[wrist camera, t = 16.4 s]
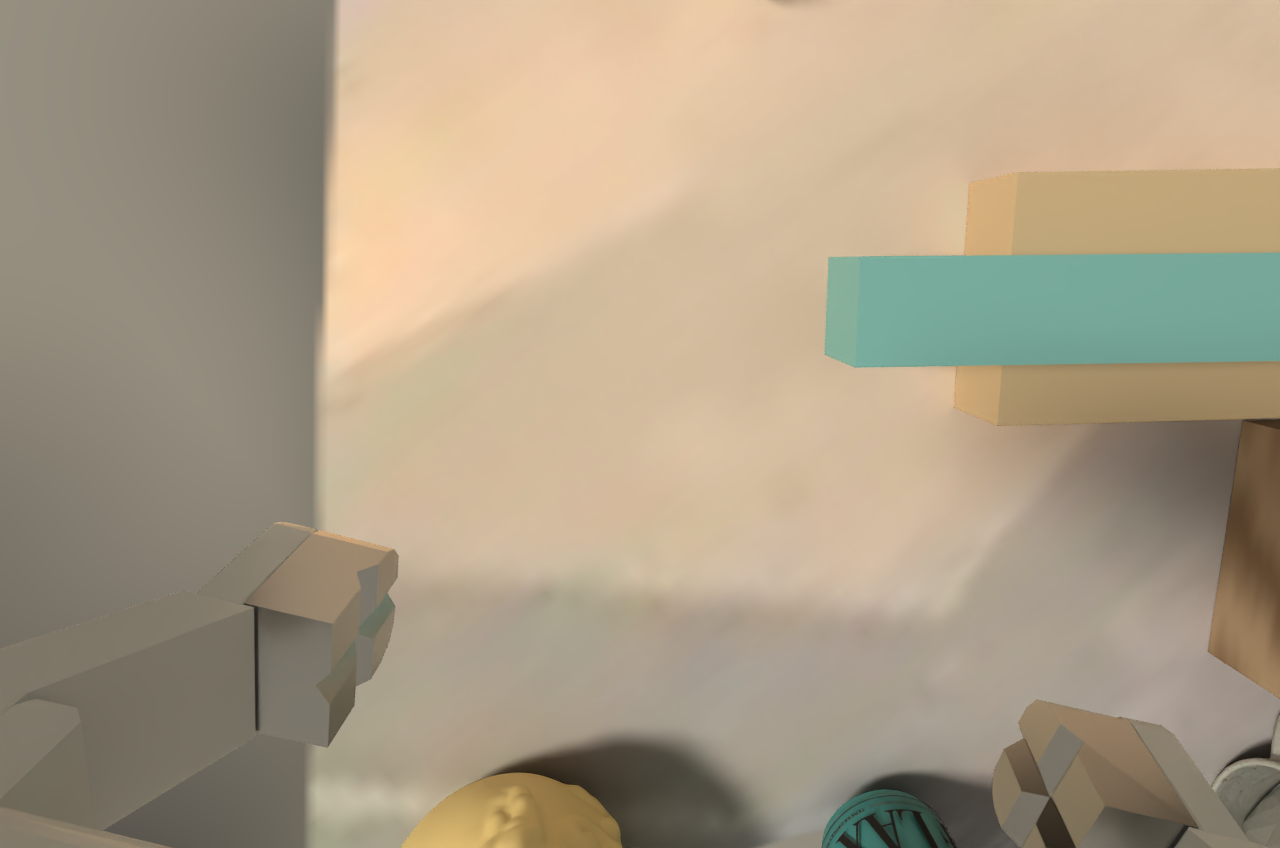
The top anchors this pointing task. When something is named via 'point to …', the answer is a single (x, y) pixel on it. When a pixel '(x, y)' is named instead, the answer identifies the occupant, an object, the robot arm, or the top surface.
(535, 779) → the sculpture
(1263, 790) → the ceramic mug
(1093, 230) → the kraft parcel
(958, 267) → the teal carton
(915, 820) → the beverage bottle
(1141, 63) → the top surface
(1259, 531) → the walnut stand
